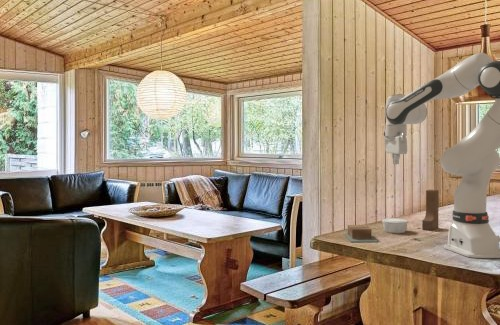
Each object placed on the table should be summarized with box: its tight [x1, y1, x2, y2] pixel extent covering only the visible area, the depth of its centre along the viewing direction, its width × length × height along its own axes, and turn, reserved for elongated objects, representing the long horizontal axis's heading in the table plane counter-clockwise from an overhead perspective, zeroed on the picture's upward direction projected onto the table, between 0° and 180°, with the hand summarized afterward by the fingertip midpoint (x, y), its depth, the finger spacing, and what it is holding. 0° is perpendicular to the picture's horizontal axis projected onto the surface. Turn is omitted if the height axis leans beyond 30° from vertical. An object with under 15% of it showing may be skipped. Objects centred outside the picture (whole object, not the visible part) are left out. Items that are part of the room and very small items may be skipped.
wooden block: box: [421, 189, 440, 231], centre depth 210 cm, size 9×4×18 cm, turn 139°
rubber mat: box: [343, 232, 379, 243], centre depth 192 cm, size 16×11×1 cm
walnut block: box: [347, 224, 372, 239], centre depth 194 cm, size 4×8×10 cm
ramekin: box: [381, 217, 409, 234], centre depth 206 cm, size 11×11×5 cm
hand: (395, 164), depth 197 cm, fingers closed
